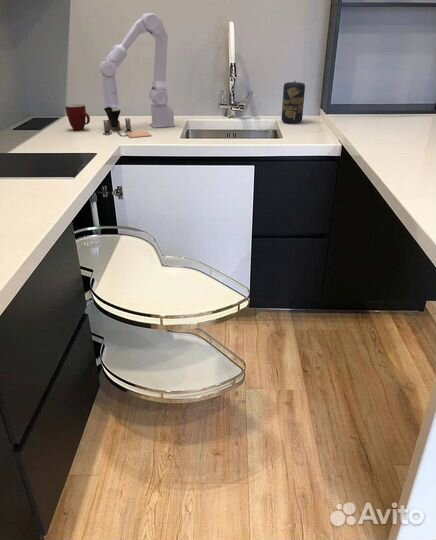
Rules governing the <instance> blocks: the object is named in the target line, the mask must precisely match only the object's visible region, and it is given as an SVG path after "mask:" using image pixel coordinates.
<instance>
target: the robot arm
mask: <svg viewBox="0 0 436 540" xmlns="http://www.w3.org/2000/svg"><path fill="white" fill-rule="evenodd" d="M144 33H149V34H150V35H151V37H152V38H153V39H154V41H155V42H154V43H155V45H154V61H153V62H154V64H153V65H154V66H153V81H152V83H151V89H150V91H149V93H148V94H149V95H148V96H149V99H150V100H151V103H150V110H151V111H150V113H151V123H149V125H150V127H151V126H152V128H153V129H157V128H158V129H159V128H168V127H169V128H170V127H175V126H176V125H175V117H174V116H175V115H174V114H175V112H174V107H173V105H172V104H168V101H169V96H168V92H167V84H166V74H167V59H168V57H167V56H168V43H169V42H168V40H169V37H168V36H169V35H168V33H167V31H166V28H165V26H164V24H163V20H162V19H161V18H160V17H159V16H158V15H157V13H154V12H144V13H143V14H141V15H140V18H138V19H137V20H136V21H135V23H134V24H133V25H132V26H131V28H130V29H129V31H128V32H127V34H126V35H125V37H124V38H123V40H122V41H121V43H120V44H115V45H114V46H112V47H110V52H109V53H108V54H107V56H105V57H103V59H104V61H101V63H100V65H99V72H100V73H101V84H102V94H103V101H104V102H103V103H101V106H102V107H104V108H103V109H104V112H105V113H106V116H107V120H111V124H112V127H118V120H119V118H120V114H121V112H122V111H121V110H120V109H118V107H119V106H120V103H119V99H118V98H119V96H118V87H117V81H116V73H117V68H119V67H120V65H121V64H123V61H124V60H125V59H126V58H127V57H128V49H129V48H130V47H131V45H132V44H133V43H134V41H135V40H136V39H137V38H138V36H140V35H142V34H144Z"/></svg>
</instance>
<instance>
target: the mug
mask: <svg viewBox="0 0 436 540" xmlns="http://www.w3.org/2000/svg"><path fill="white" fill-rule="evenodd" d="M64 107H65V112H66V116H67V119H68V122H69V126H70V127H71V128H72V129H73V130H74V132H75V131H76V132H77V131H79V132H80V131H84V128H85V126H86V125H88V124H90V122H91V118H90V114H88V113H87V112H86V111H87V110H86V105H85V104H83V103H71V104H66V105H65V106H64Z"/></svg>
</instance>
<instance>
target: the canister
mask: <svg viewBox="0 0 436 540" xmlns="http://www.w3.org/2000/svg"><path fill="white" fill-rule="evenodd" d="M282 92H283V93H282V103H281V104H282V107H281V121H282V122H283V123H285V124H298V123H299V124H300V123H302V121H303V115H304V102H305V92H306V84H305V83H303V82H300V81H298V82H297V81H296V80H294V81H293V82H292V81H291V82H290V81H289V82H285V83H284V84H283V91H282Z"/></svg>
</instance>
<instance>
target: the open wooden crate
mask: <svg viewBox="0 0 436 540" xmlns="http://www.w3.org/2000/svg"><path fill="white" fill-rule="evenodd" d="M107 120H108V122H109V131H110V130H112V131H115V130H117V131H120V130H121V124H120V123H121V122H120V120H119V119H118V127H112V124H111V120H109V119H107Z"/></svg>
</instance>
